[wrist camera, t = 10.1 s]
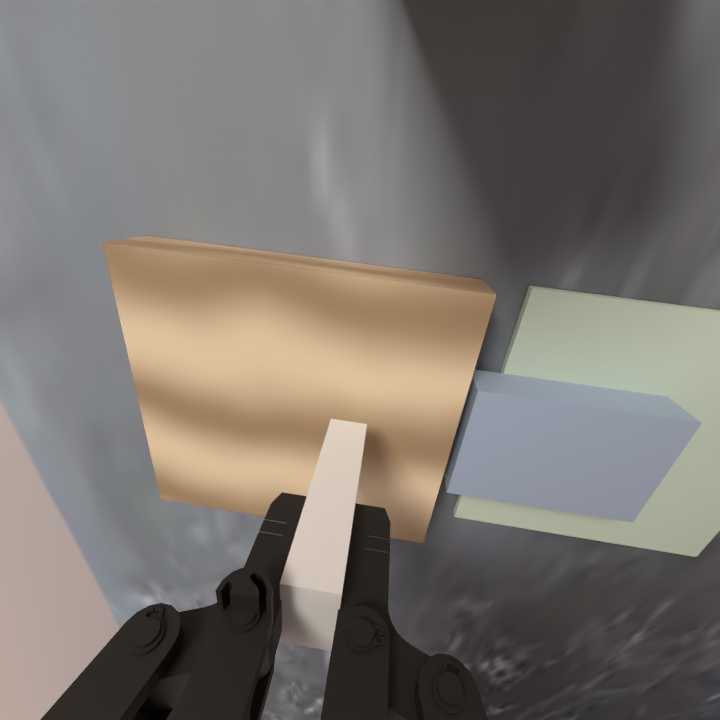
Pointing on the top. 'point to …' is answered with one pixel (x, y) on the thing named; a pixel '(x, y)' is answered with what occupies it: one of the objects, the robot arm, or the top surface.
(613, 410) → the blue rectangular block
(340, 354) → the board
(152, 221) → the top surface
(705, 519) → the mat
